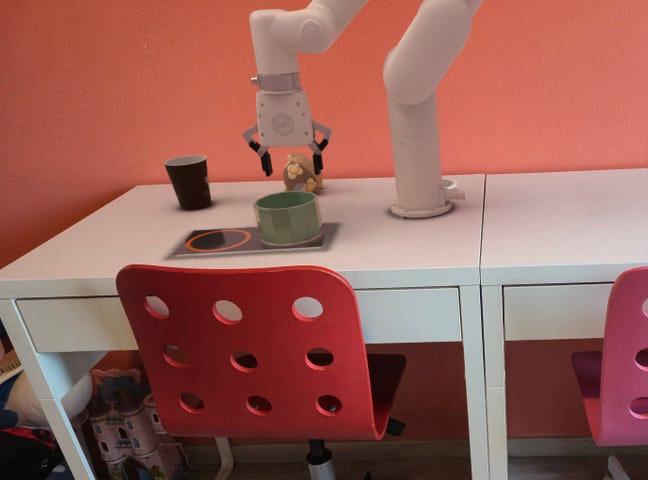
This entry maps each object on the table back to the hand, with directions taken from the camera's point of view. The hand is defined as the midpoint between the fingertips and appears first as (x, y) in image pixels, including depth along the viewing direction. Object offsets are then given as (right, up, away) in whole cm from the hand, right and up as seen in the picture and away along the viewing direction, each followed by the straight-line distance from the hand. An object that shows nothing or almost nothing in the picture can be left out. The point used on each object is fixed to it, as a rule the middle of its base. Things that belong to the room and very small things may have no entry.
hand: (293, 174), depth 141 cm
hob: (-6, -14, -6) cm, 17 cm away
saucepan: (+1, -11, -3) cm, 12 cm away
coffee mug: (-25, -2, +17) cm, 31 cm away
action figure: (-3, +2, +22) cm, 23 cm away
